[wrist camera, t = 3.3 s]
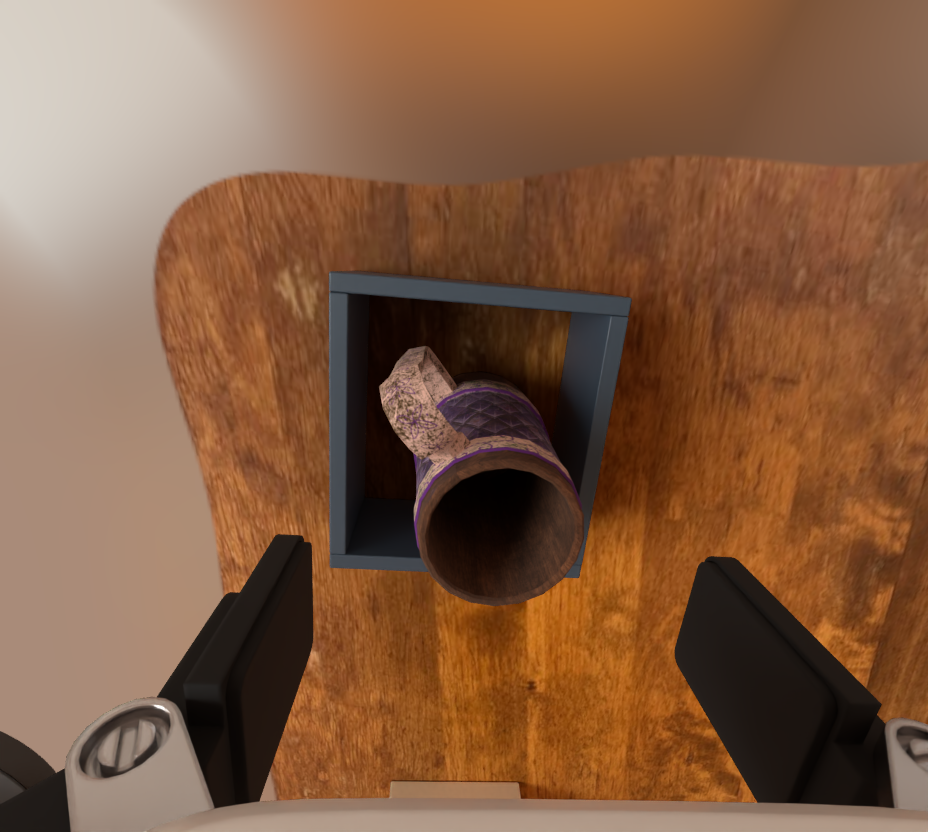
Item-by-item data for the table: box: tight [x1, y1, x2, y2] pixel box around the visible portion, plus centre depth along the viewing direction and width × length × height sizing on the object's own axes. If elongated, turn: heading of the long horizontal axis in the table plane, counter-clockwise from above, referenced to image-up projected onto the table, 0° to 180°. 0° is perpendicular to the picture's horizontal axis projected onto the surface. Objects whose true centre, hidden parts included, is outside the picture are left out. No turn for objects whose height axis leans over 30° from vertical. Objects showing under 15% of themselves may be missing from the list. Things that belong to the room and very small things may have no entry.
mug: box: [379, 346, 584, 606], centre depth 21 cm, size 10×7×12 cm
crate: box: [329, 271, 632, 578], centre depth 24 cm, size 13×14×6 cm
